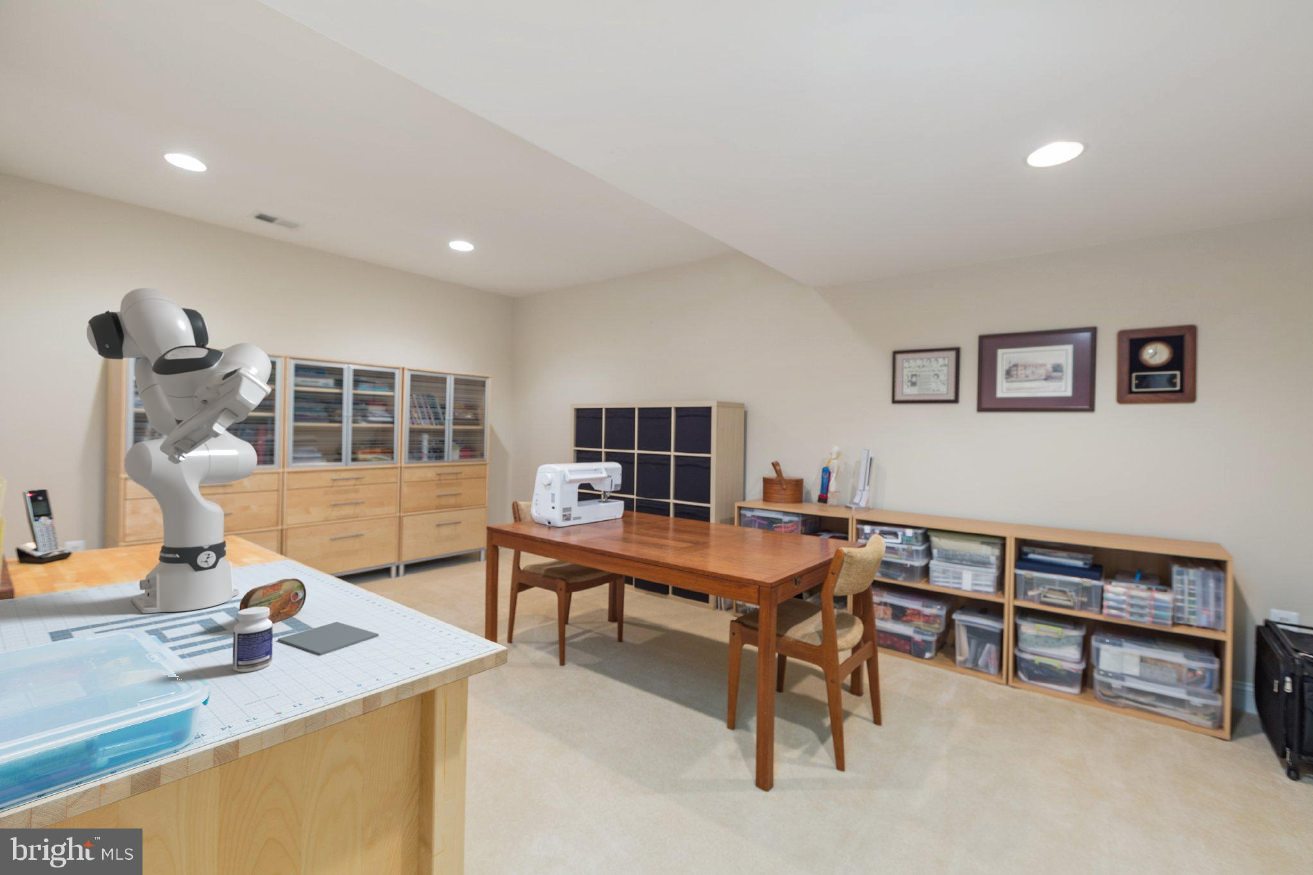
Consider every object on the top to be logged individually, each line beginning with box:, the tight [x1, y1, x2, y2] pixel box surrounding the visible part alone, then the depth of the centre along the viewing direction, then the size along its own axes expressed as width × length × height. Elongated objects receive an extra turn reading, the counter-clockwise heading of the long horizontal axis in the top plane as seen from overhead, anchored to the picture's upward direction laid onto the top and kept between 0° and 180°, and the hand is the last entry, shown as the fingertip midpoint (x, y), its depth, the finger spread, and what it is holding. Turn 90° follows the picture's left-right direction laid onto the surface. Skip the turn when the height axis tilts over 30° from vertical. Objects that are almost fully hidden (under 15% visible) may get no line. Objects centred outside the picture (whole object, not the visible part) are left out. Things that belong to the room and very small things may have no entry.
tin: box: [238, 578, 307, 625], centre depth 124 cm, size 15×3×8 cm, turn 168°
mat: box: [277, 621, 379, 656], centre depth 115 cm, size 14×12×1 cm
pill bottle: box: [232, 607, 274, 673], centre depth 101 cm, size 6×6×10 cm
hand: (194, 447), depth 98 cm, fingers open, 8 cm apart
